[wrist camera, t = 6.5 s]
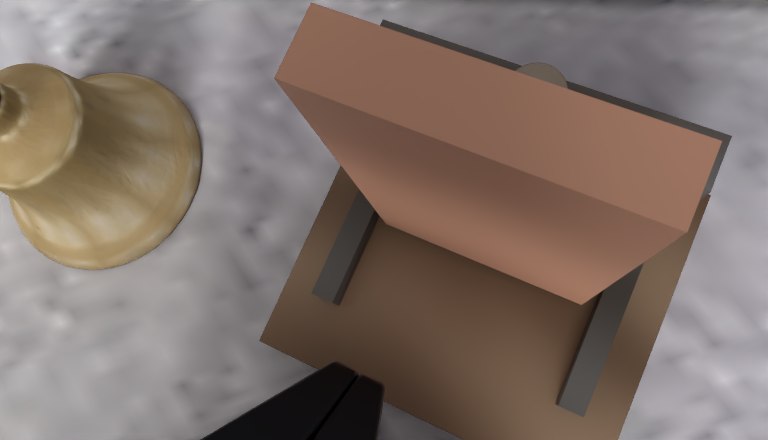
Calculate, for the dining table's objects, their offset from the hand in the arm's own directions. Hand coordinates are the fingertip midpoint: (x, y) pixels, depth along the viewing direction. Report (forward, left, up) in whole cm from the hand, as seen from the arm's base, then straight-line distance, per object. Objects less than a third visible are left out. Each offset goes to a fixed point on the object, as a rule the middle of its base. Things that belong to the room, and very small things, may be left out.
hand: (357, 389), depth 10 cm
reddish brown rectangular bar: (+3, -3, -12) cm, 13 cm away
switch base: (+3, -3, -14) cm, 14 cm away
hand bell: (+12, +10, -14) cm, 21 cm away
